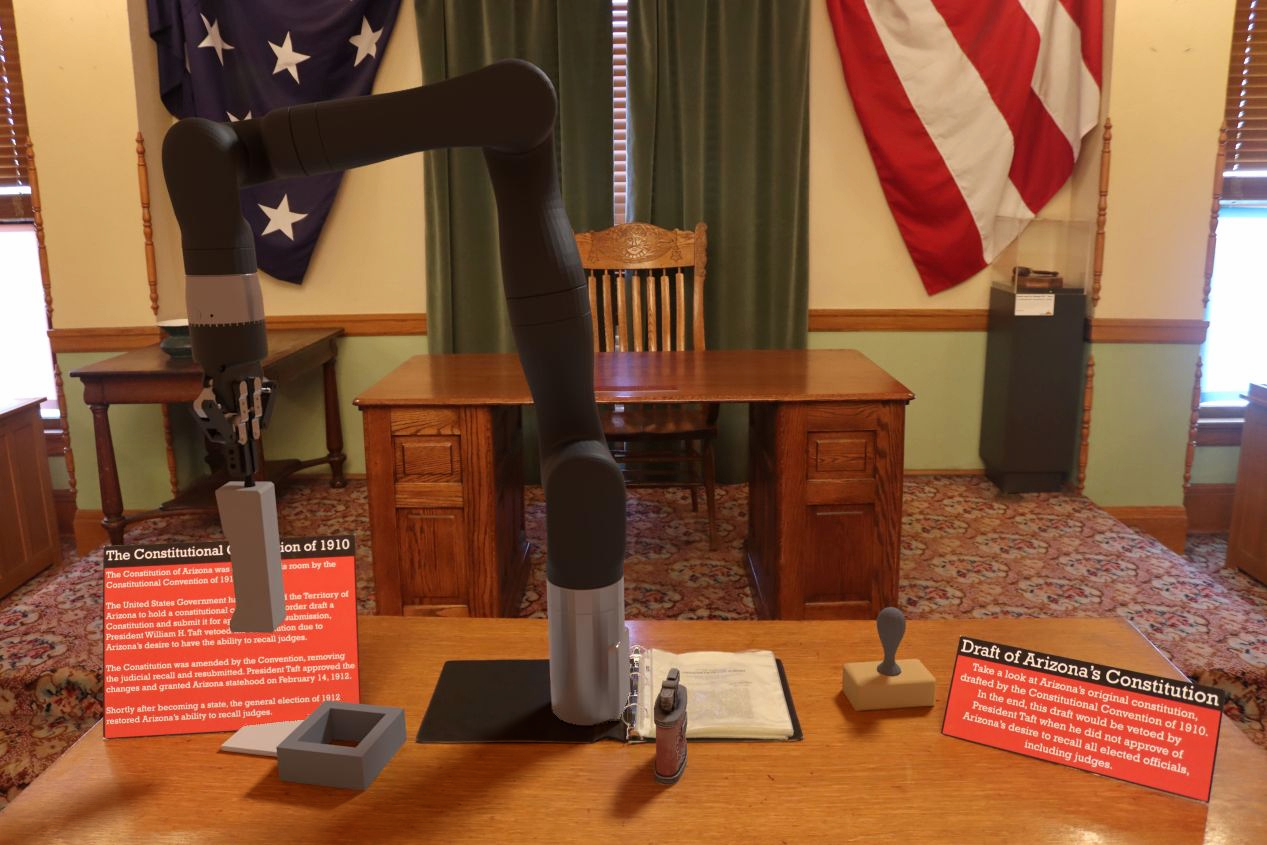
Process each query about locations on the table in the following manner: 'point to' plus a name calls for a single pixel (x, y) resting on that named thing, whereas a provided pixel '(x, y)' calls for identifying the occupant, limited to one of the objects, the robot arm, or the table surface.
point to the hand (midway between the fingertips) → (244, 474)
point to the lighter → (671, 730)
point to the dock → (339, 765)
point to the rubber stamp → (889, 673)
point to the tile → (260, 738)
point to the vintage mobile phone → (253, 553)
